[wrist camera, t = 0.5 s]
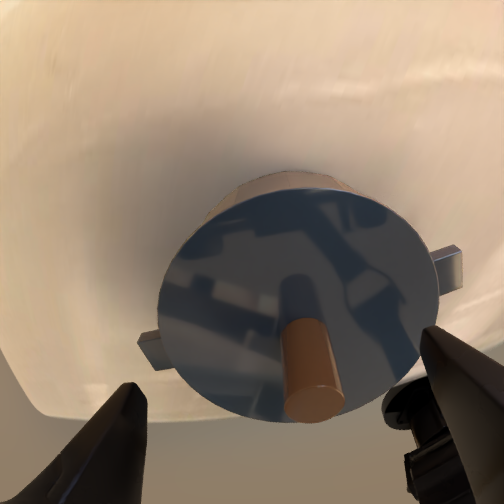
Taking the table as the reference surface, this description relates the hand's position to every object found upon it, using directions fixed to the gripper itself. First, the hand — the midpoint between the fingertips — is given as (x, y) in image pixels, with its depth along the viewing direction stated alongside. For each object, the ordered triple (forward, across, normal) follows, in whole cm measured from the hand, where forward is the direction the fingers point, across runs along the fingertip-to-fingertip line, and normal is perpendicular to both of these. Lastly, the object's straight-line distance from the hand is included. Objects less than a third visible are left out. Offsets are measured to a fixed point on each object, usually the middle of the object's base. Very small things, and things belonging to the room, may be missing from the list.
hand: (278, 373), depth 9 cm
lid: (+6, -1, +4) cm, 7 cm away
